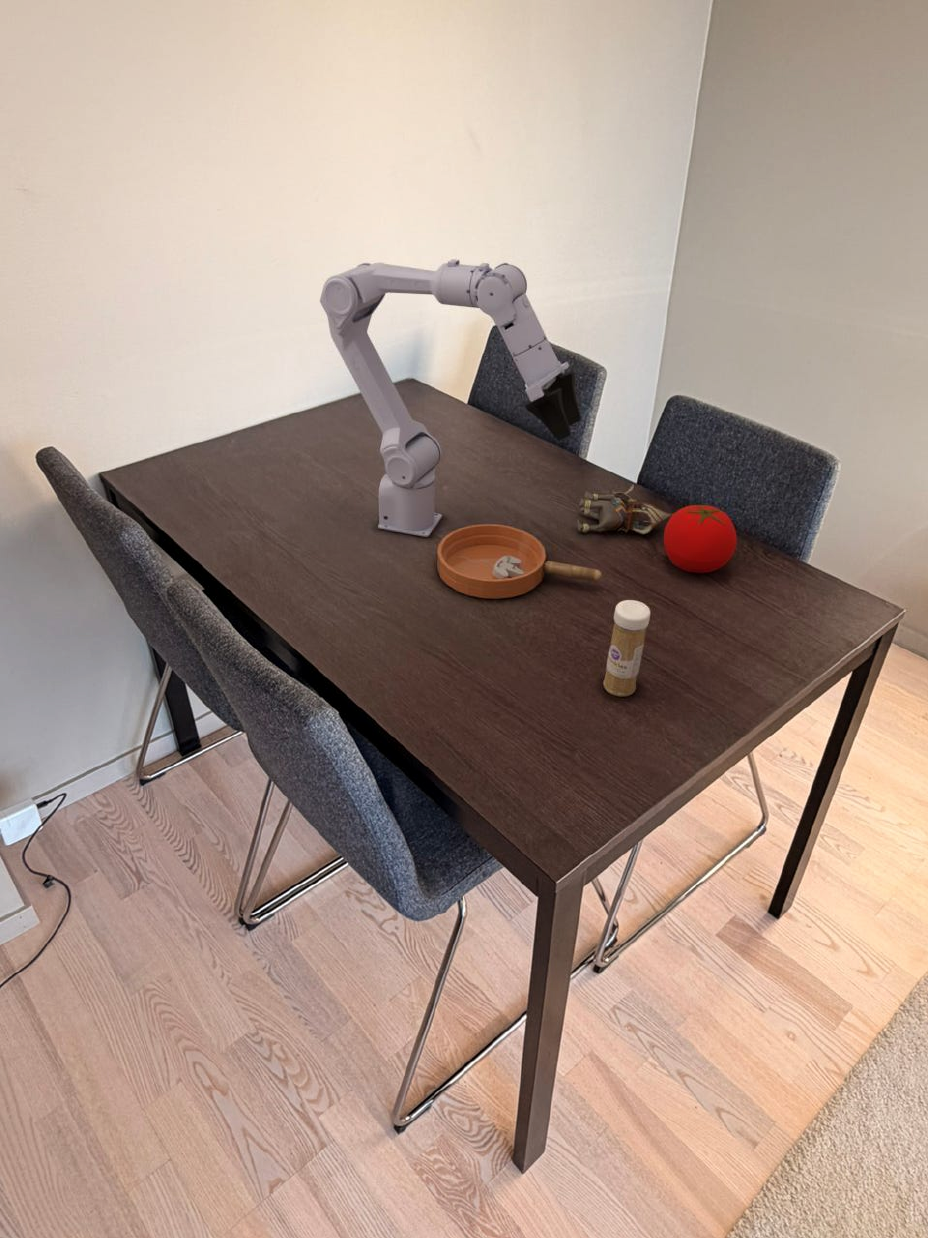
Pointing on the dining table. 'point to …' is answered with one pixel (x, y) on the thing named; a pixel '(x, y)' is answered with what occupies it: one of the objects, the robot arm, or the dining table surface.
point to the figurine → (619, 512)
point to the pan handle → (572, 571)
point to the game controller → (506, 567)
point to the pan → (489, 560)
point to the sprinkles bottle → (626, 647)
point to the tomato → (699, 539)
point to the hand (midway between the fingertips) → (569, 429)
